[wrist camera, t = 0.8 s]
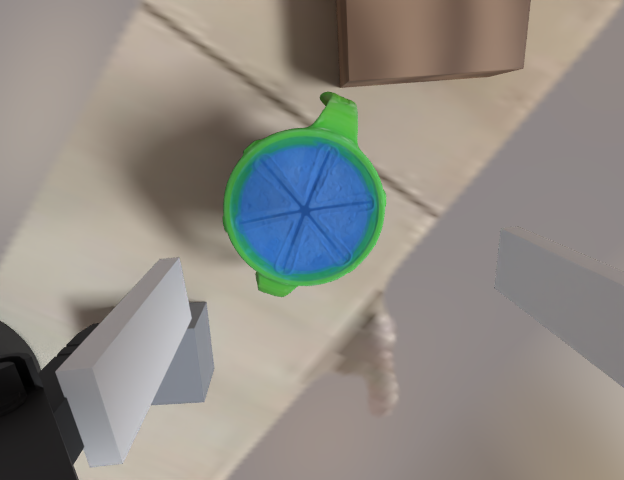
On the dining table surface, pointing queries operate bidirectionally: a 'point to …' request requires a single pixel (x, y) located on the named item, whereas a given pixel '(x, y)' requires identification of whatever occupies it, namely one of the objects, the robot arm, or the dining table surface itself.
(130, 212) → the dining table surface
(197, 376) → the slate block
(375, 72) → the walnut block
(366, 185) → the snack cup
